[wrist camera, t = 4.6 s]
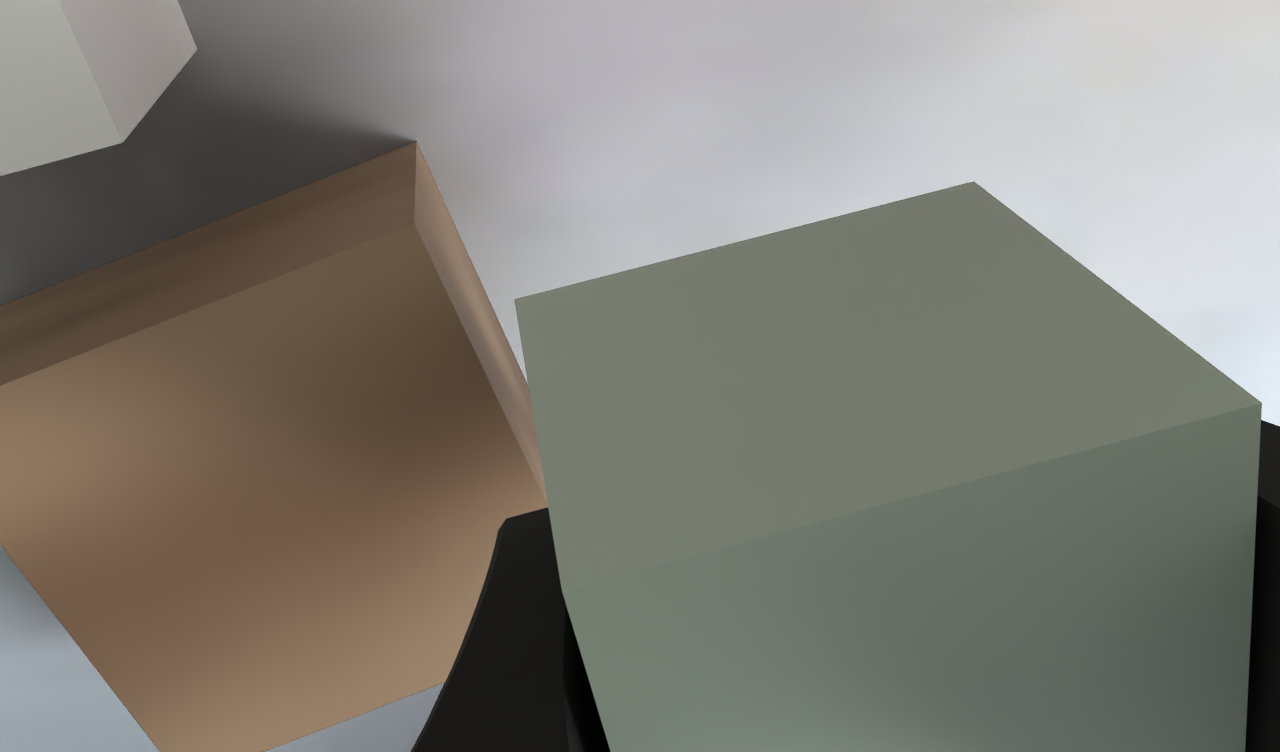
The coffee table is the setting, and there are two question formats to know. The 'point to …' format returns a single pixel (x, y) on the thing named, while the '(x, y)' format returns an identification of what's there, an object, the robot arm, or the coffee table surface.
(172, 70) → the pale grey cube
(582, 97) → the coffee table surface
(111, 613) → the walnut block
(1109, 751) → the sage cube
